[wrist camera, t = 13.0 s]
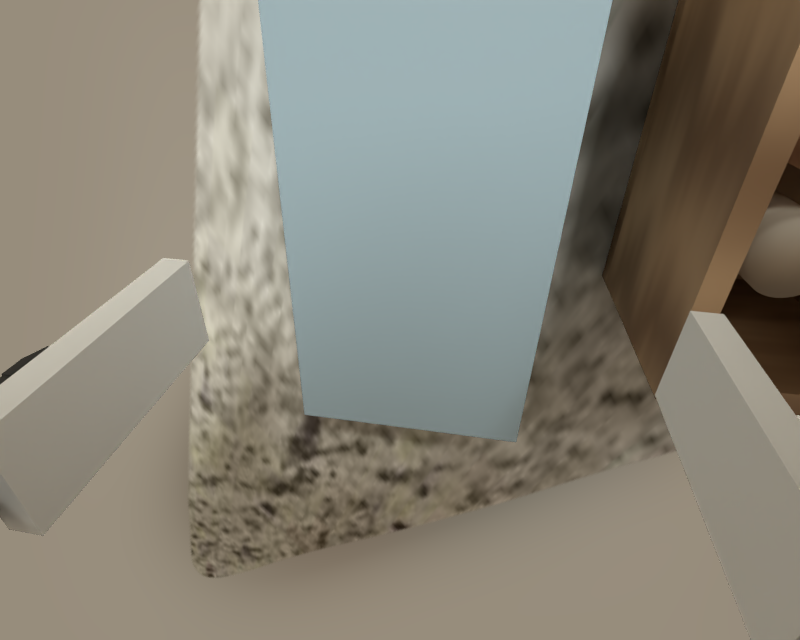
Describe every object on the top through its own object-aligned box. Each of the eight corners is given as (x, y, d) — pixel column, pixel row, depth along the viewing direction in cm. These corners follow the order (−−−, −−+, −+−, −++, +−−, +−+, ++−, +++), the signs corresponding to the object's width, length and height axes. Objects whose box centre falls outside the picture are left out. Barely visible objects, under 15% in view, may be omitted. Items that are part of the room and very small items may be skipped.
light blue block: (318, -9, 19) (256, -17, 14) (578, -2, 18) (614, -9, 13) (338, 341, 28) (304, 414, 23) (511, 360, 27) (516, 442, 22)
